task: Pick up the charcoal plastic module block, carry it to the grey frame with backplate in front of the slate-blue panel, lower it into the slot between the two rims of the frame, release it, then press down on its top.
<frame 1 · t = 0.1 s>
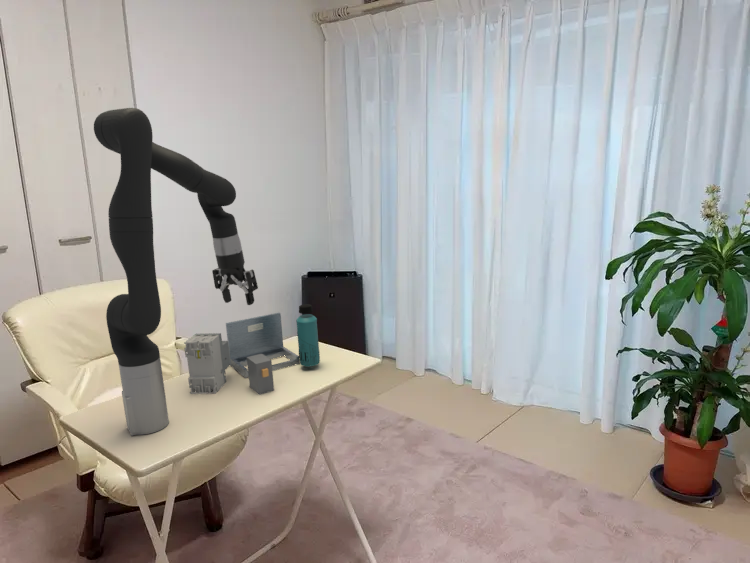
hand: (239, 303, 160), 22 cm above the table, tool pointing down, fingers open, 8 cm apart
grey frame with backplate: (266, 365, 171), on the table
module: (261, 388, 153), on the table
beverage bottle: (310, 368, 168), on the table
circuit breaker: (212, 383, 159), on the table
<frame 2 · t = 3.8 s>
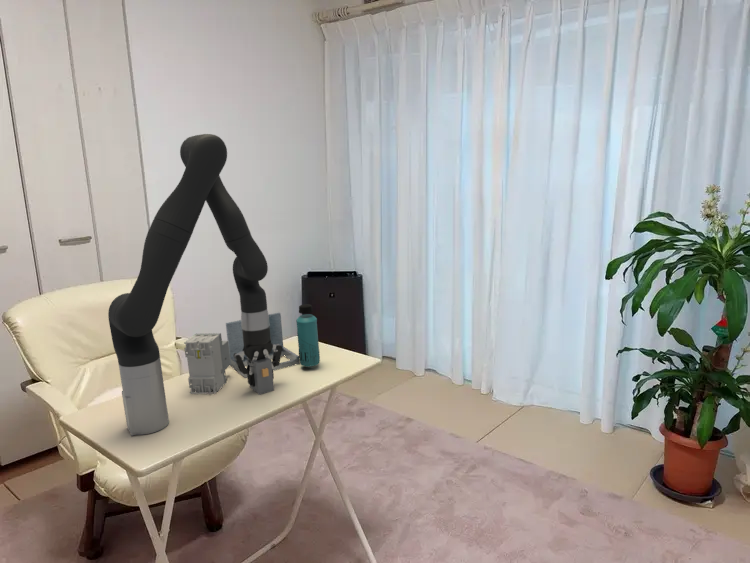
hand: (261, 383, 153), 2 cm above the table, tool pointing down, fingers closed on module, 4 cm apart
module: (261, 388, 153), on the table, touching gripper
everything else where it was.
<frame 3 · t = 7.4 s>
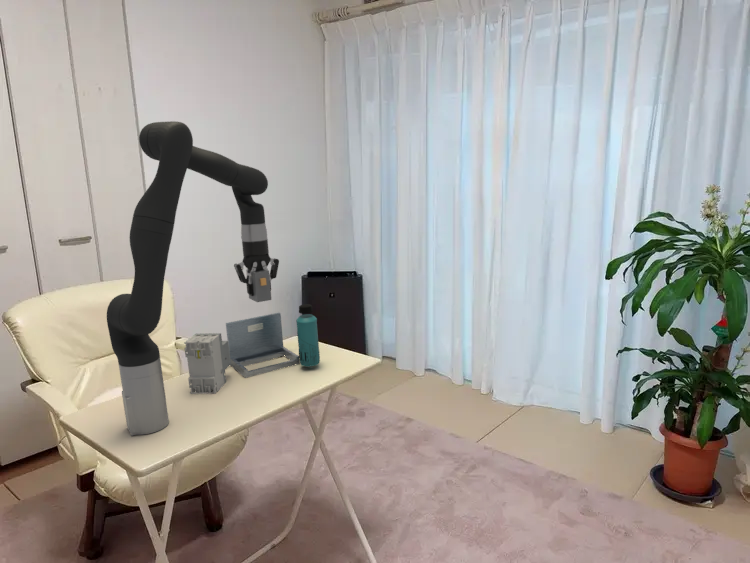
hand: (259, 293, 166), 23 cm above the table, tool pointing down, fingers closed on module, 4 cm apart
module: (260, 299, 166), point 22 cm above the table, touching gripper
everything else where it was.
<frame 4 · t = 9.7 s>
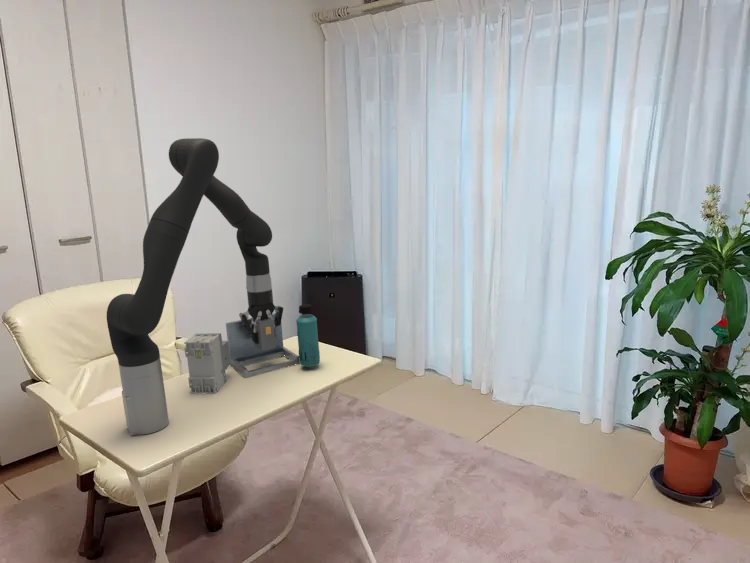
hand: (264, 341, 169), 8 cm above the table, tool pointing down, fingers closed on module, 4 cm apart
module: (264, 346, 169), point 7 cm above the table, touching gripper
everything else where it was.
when the fingers open (3 cm above the table, at t = 11.4 s): module drops 1 cm, resting in grey frame with backplate.
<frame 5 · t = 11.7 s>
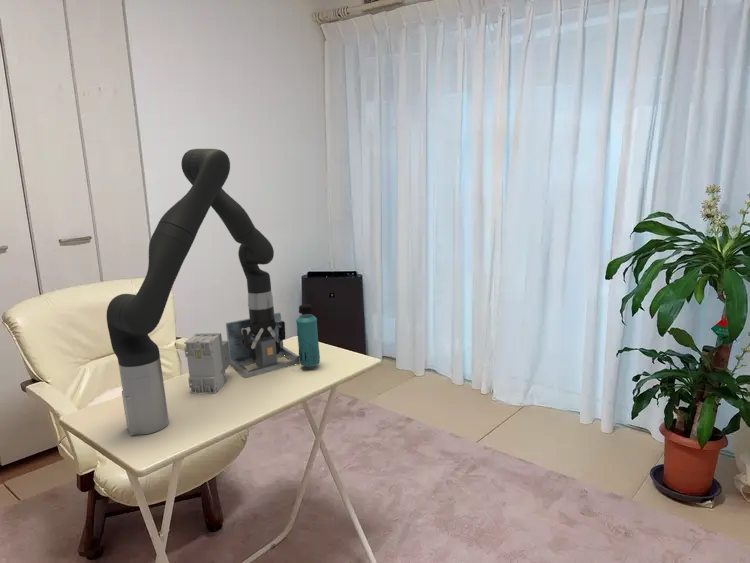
hand: (265, 356, 170), 3 cm above the table, tool pointing down, fingers open, 7 cm apart
module: (266, 366, 171), resting in grey frame with backplate
everything else where it was.
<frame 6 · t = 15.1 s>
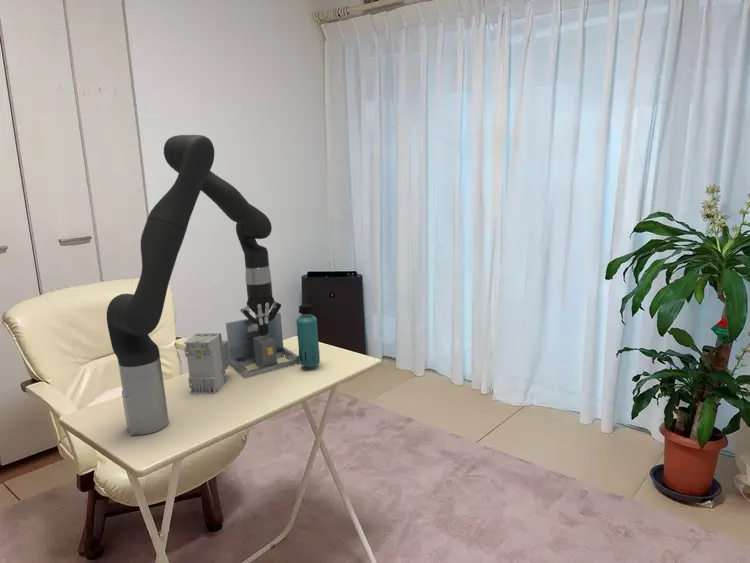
hand: (263, 335, 168), 10 cm above the table, tool pointing down, fingers closed
nothing on the table moved.
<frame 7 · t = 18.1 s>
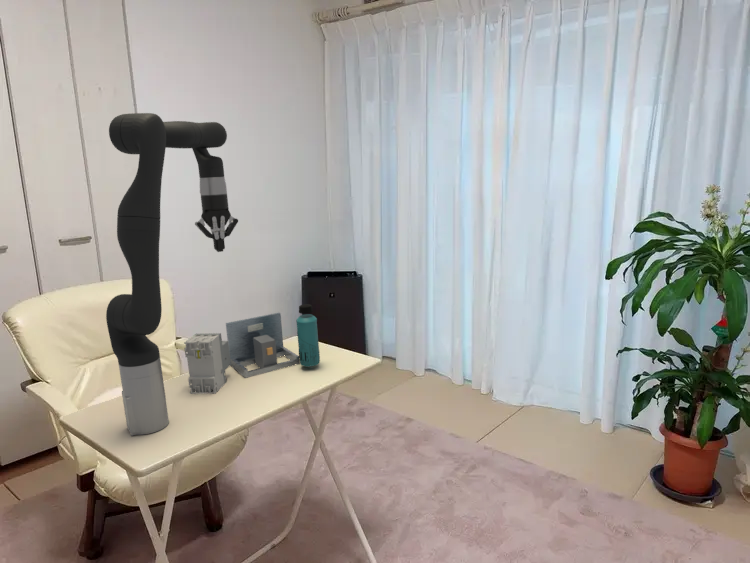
hand: (220, 251, 163), 37 cm above the table, tool pointing down, fingers closed
nothing on the table moved.
at the end: module inside the target area on the grey frame with backplate (0.1 cm from its centre), point 0.0 cm above the grey frame with backplate's base; module tilted 0°; the gripper is holding nothing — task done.
